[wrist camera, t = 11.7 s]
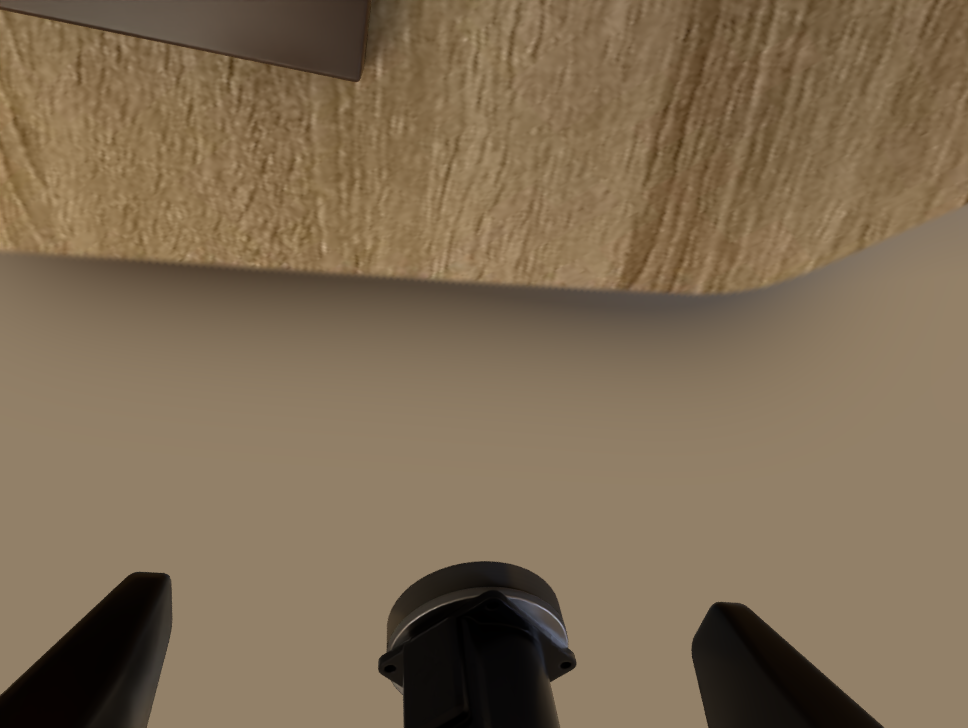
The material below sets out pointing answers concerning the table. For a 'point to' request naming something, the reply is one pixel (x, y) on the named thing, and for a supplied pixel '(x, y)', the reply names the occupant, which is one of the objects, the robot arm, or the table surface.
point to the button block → (232, 28)
